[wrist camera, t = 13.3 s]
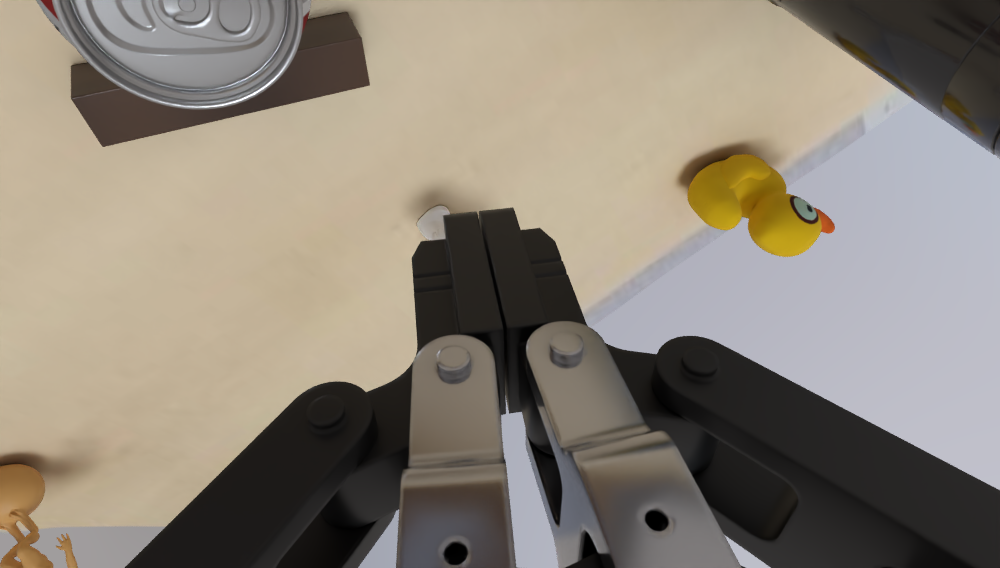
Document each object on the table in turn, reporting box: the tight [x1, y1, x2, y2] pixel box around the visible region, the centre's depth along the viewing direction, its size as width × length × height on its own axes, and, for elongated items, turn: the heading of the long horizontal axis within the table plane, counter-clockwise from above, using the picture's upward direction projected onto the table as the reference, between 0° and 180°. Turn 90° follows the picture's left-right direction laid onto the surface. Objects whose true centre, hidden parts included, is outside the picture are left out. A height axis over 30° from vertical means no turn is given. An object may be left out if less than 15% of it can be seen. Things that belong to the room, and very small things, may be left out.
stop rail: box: [71, 12, 370, 147], centre depth 27 cm, size 12×2×2 cm, turn 90°
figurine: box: [0, 464, 78, 568], centre depth 40 cm, size 8×6×12 cm
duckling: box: [688, 154, 835, 257], centre depth 49 cm, size 11×5×10 cm, turn 75°
